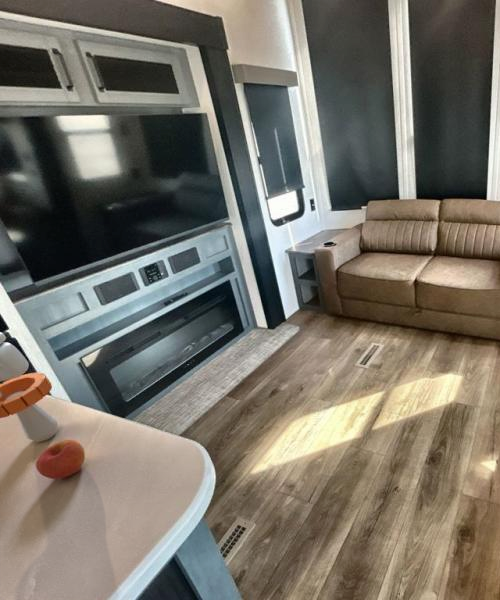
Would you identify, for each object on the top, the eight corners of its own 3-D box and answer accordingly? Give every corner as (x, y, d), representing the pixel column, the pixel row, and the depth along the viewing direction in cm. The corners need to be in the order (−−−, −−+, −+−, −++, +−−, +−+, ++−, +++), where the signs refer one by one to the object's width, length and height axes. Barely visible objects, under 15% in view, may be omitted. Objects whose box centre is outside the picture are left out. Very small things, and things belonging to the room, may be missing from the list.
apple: (86, 451, 82) (66, 426, 78) (97, 465, 78) (78, 440, 74) (45, 477, 77) (23, 451, 73) (55, 493, 73) (32, 467, 69)
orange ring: (-32, 426, 76) (-41, 415, 75) (6, 390, 87) (-2, 380, 85) (33, 410, 79) (24, 400, 77) (62, 377, 89) (55, 367, 87)
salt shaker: (31, 437, 88) (-3, 397, 82) (60, 422, 92) (30, 383, 85) (33, 449, 84) (-3, 408, 78) (63, 433, 88) (32, 393, 82)
